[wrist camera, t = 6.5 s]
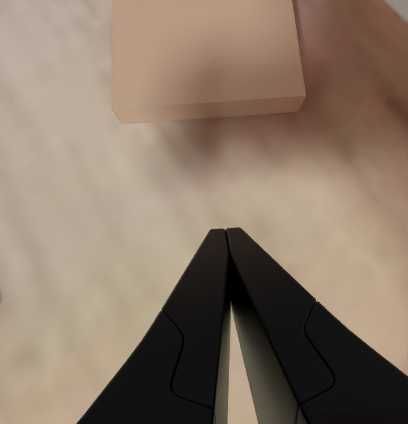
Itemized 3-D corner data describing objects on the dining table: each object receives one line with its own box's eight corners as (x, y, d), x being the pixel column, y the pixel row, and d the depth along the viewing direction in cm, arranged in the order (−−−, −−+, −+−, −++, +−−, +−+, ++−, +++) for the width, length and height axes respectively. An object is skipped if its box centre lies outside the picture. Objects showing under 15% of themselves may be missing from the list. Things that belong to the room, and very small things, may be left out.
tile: (306, 95, 19) (283, -57, 21) (111, 109, 19) (113, -44, 21) (296, 115, 21) (276, -25, 24) (122, 127, 21) (122, -13, 24)
